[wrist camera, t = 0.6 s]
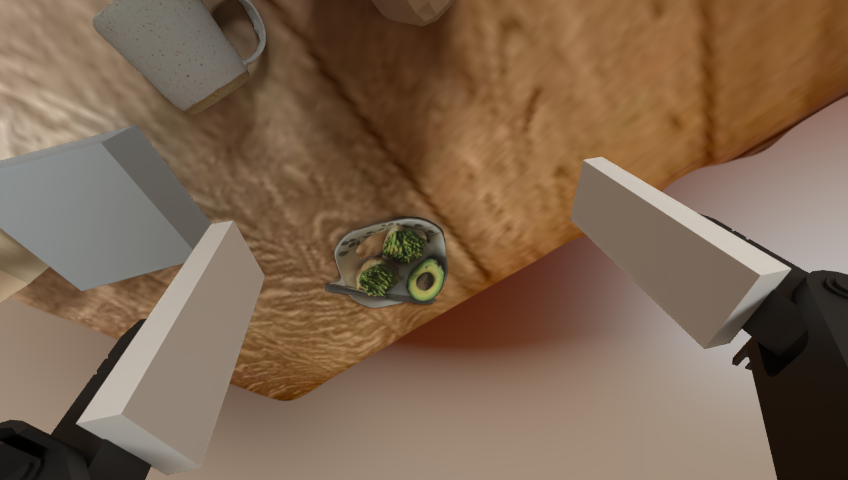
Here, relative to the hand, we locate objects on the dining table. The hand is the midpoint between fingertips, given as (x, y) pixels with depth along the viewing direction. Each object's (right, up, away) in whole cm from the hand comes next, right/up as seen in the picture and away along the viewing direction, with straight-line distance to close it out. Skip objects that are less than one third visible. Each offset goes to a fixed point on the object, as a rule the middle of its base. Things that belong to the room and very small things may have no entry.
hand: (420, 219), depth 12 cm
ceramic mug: (-20, +18, +17) cm, 32 cm away
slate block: (-35, +4, +24) cm, 43 cm away
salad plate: (-4, -4, +37) cm, 38 cm away
